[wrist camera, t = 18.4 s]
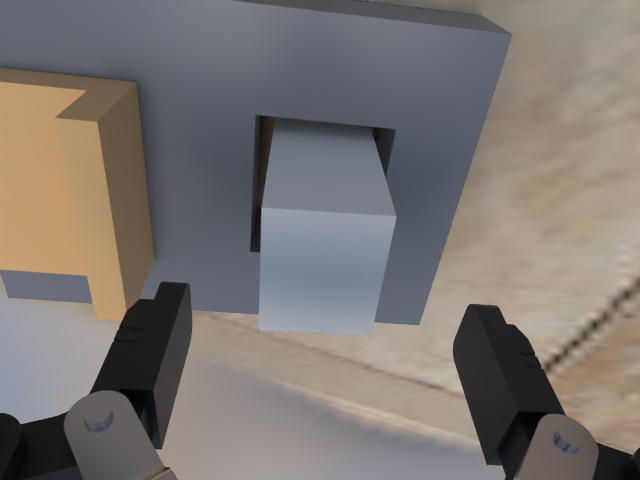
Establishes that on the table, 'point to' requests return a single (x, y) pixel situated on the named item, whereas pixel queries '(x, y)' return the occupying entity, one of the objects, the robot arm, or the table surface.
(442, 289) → the table surface
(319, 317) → the plug
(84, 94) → the tan l-shaped block
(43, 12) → the socket plate
